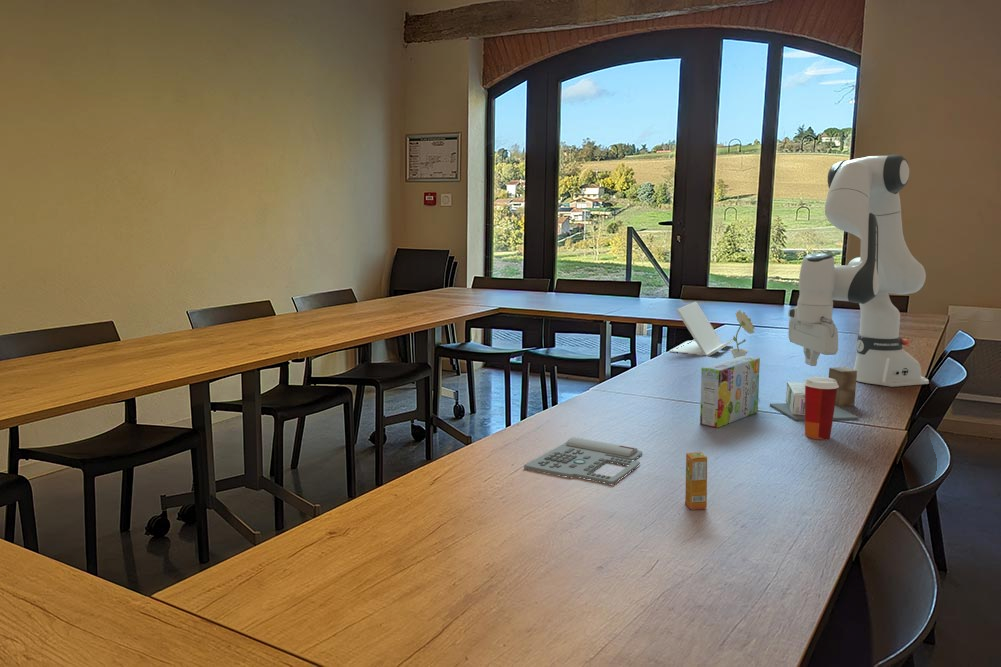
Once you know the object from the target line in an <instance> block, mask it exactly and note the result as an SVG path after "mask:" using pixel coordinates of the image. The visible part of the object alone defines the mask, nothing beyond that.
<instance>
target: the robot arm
mask: <svg viewBox="0 0 1001 667" xmlns="http://www.w3.org/2000/svg"><path fill="white" fill-rule="evenodd" d="M909 178H910V165H909V162H908V161H907V159H906V158H905V157H904V156H903V155H901V154H900V155H898V154H889V155H868V156H865V157H859V158H854V159H849V160H840V161H838V162H836V163H834V164H833V165H832V166H831V167H830V168H829V170H828V173H827V186H828V188H829V189H828V193H827V196H826V199H825V204H824V215H825V217H826V220H827V221H828V222H829V223H830V224H831V225H832V226H833V227H835V228H837V229H839V230H840V231H842V232H846V233H849V234H851V235H854V236H855V237H858V238H859V239H860V253H859V254H860V256H859V257H855V258H852V259H851V260H849V263H847V265H846V264H845V265H842V264H835V259H834V255H832V254H830V253H827V252H815V253H808V254H807V255H805V256H803V259H802V261H801V265H800V269H799V270H800V271H799V277H798V278H799V279H798V291H799V295H798V299H797V302H796V303H797V304H796V305H795V307H792V308H789V309H788V314H787V315H788V317H790V318H789V320H788V330H787V332H788V334H787V335H788V339H789V342H790V343H792V344H795V345H797V346H800V347H802V348H803V351H802V352H803V354H804V357H805V358H804V359H805V360H804V363H805V364H806V365H808V366H810V367H816V366H817V364H818V360H819V357H820V356H821V355H824V356H833V355H834V356H835V355H836V354H837V353H838V351H839V331H838V328H837V326H836V324H835V323H834V320H833V309H834V301H843V302H849V303H855V304H858V305H859V308H860V309H859V310H860V311H859V312H860V315H859V316H860V317H859V318H860V320H859V333H858V335H857V339H856V357H855V360H854V366H853V368H852V369H853V370H857V379H856V382H860V383H863V384H864V383H865V384H872V385H879V386H886V387H891V388H892V387H904V386H905V387H907V386H917V385H928V384H930V382H929V381H930V380H929V379H928V378H927V377H924V376H923V375H922V368H921V363H920V362H919V361H918V360H917V359H915V358H914V357H913V356H912V355H911V354H910V353H908V352H907V351H906V350H904V346H906V347H909V346H910V344H911V341H910V339H907V338H903V339H902V338H901V337H900V336H899V334H900V333H899V332H900V324H901V323H900V322H901V313H900V310H899V309H898V308H897V307H896V306H895V305H894V304H893V303H892V300H891V298H890V295H889V294H892V295H893V294H894V295H907V294H908V295H909V294H910V295H911V294H915V293H917V292H918V291H920V290H921V288H923V286H924V285H925V283H926V278H927V274H926V269H925V267H924V265H923V264H922V263H920V262H919V261H918V260H917V259H916V258H915V257H914V255H913V254H912V253H911V251H910V249H909V247H908V245H907V242H906V241H905V236H904V233H903V231H904V230H903V220H902V218H903V217H902V206H901V197H900V191H901V190H903V189H904V188H905V186H907V184H908V181H909Z"/></svg>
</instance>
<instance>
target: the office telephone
mask: <svg viewBox="0 0 1001 667" xmlns="http://www.w3.org/2000/svg"><path fill="white" fill-rule="evenodd" d="M640 455H642V456H643V451H642V450H639V449H638V448H636V447H630V446H625V445H620V444H614V443H608V442H603V441H598V440H592V439H588V438H587V439H586V438H579V437H576V436H572V437H570V438H568V440H567V441H566V442H564V443H563V444H561V445H559V446H557V447H555V448H553V449H551V450H549V451H548V452H546V453H544V454H542V455H540V456H539V457H536V458H534V459H533V460H530V461H528V462H527V463H525V464H523V466H524V469H525V470H528V471H532V470H534V471H533V472H537V471H540V472H539V473H542V472H545V473H544V474H547V473H550V474H549V475H552V474H554V475H553V476H557V475H560V476H559V477H562V476H567V477H581V478H585V479H591V480H594V481H593V482H595V481H600V482H605V483H608V484H614V483H616V482H617V481H618V480H619V479H621V478H622V477H624V476H625V475H626V474H628V473H629V472H630V471H632V470H633V469H635V468H636V467H637V466H638V465H639V464H640V465H641V462H640V461H638V460H637V459H638V458H637V457H639V456H640ZM640 457H641V456H640ZM640 457H639V458H640ZM636 458H637V459H636ZM635 459H636V460H635ZM632 460H634V461H632ZM605 462H606V463H607V462H613V463H618V464H624V465H629V466H625V467H624V468H623V469H622V470H620V471H619V472H617V473H616V474H615V475H613V476H610V475H606V474H601V473H594V472H595V471H596V470H597V469H599V468H600V467H602V466H603V465H605V464H606V463H605ZM604 463H605V464H604ZM613 463H612V464H613ZM602 464H603V465H602ZM618 464H617V465H618ZM601 465H602V466H601ZM599 466H600V467H599ZM598 467H599V468H598ZM596 468H597V469H596ZM637 468H638V467H637ZM637 468H636V469H637ZM595 469H596V470H595ZM636 469H635V470H636ZM594 470H595V471H594ZM592 471H593V472H592ZM591 472H592V473H591ZM632 472H633V471H632ZM628 475H629V474H628ZM567 477H566V478H567ZM624 478H625V477H624ZM585 479H584V480H585ZM600 482H599V483H600ZM608 484H607V485H608ZM616 484H617V483H616Z"/></svg>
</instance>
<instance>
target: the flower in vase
mask: <svg viewBox="0 0 1001 667" xmlns="http://www.w3.org/2000/svg"><path fill="white" fill-rule="evenodd" d="M735 317H736V320H737V322H738V324H739V327H738V330H737V331H736V334H735V335H733V337H732V338H733V339H732V341H733V342H735V343H736V348H730V350H729V351H730V352H731V354H732V356H733V359H734V358H737V357H740V356H747V354H748V352H749V349H746V348H739V345H741V344H743V343H745V342H746V341H747V340H746V339H745V338H744V339H743V340H742V341H740V342H738V334H739V332H740V329H741V328H742V329H743V330H744V331H745V332H747V333H748V334H750V335H752V334H754V333H755V331H754V330H755V326H754V325H753V322H752V319H751V318H750V317H748V314H746V313H745V311H741V310H740V309H739V310H738V311H736V312H735Z"/></svg>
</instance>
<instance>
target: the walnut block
mask: <svg viewBox="0 0 1001 667" xmlns="http://www.w3.org/2000/svg"><path fill="white" fill-rule="evenodd" d="M828 370H829V371H828V378H832V379H835V380H836V381H837V383H838V385H839V388H837V394H836V401H835V406H837V407H839V408H846V407H855V400H856V390H857V381H856V379H857V370H853V368H850V367H846V366H838V367H829V369H828Z"/></svg>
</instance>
